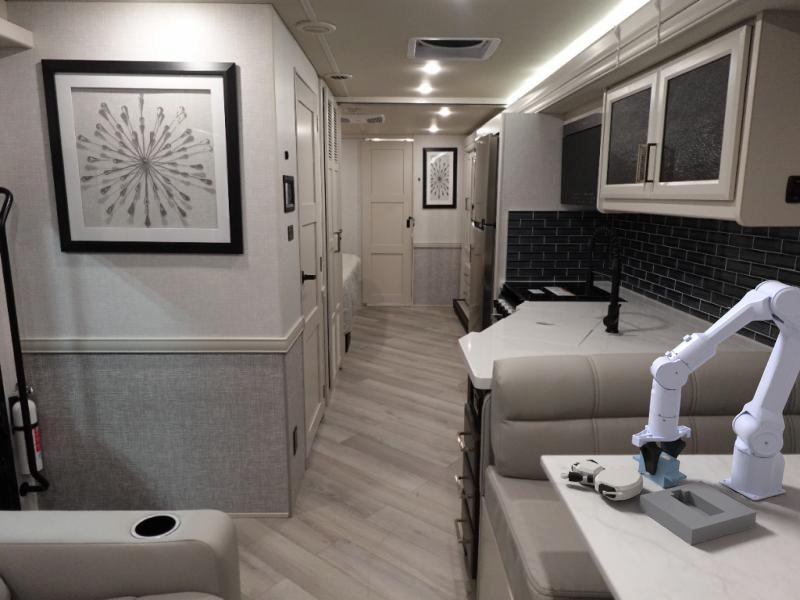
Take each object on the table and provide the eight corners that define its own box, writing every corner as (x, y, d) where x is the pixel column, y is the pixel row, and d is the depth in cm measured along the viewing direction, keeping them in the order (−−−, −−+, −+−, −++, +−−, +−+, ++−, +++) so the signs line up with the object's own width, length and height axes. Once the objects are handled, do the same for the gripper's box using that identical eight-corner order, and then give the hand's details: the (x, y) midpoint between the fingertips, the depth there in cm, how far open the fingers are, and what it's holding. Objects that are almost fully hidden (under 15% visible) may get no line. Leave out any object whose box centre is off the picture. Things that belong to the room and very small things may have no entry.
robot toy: (556, 488, 116) (624, 513, 104) (556, 468, 115) (624, 491, 104) (586, 470, 124) (652, 491, 112) (586, 451, 123) (652, 470, 112)
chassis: (699, 494, 112) (700, 481, 111) (754, 526, 100) (756, 511, 100) (639, 509, 106) (640, 495, 105) (690, 545, 95) (692, 529, 94)
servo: (645, 465, 124) (647, 441, 123) (685, 489, 114) (688, 463, 112) (631, 468, 122) (633, 444, 121) (670, 492, 112) (673, 466, 111)
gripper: (674, 402, 121) (668, 457, 124) (623, 410, 116) (618, 468, 119) (701, 413, 115) (695, 472, 117) (649, 422, 110) (643, 483, 112)
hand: (658, 471), depth 118 cm, fingers closed on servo, 4 cm apart
